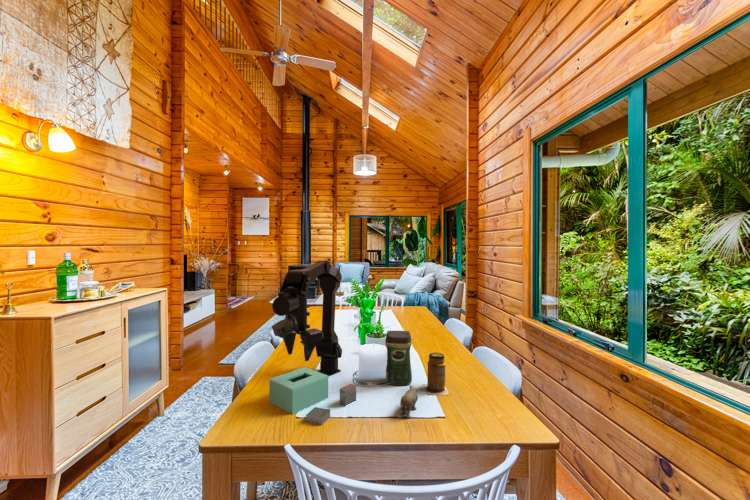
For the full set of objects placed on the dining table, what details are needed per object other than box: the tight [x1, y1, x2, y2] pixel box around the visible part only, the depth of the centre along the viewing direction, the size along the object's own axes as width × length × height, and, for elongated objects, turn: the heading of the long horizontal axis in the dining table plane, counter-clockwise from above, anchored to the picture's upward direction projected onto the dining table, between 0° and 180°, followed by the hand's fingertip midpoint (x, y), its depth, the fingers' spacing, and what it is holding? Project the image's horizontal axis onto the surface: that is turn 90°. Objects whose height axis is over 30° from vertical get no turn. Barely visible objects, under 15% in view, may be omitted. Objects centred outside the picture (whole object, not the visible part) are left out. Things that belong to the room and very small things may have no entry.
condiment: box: [423, 351, 450, 396], centre depth 121 cm, size 7×8×12 cm
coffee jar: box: [384, 330, 413, 386], centre depth 128 cm, size 10×8×19 cm
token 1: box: [305, 406, 331, 426], centre depth 101 cm, size 5×5×2 cm
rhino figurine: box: [400, 385, 420, 420], centre depth 108 cm, size 4×14×6 cm, turn 159°
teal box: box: [268, 366, 329, 415], centre depth 113 cm, size 14×12×7 cm
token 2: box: [339, 383, 357, 407], centre depth 111 cm, size 5×2×5 cm, turn 140°
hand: (298, 357), depth 114 cm, fingers open, 9 cm apart
